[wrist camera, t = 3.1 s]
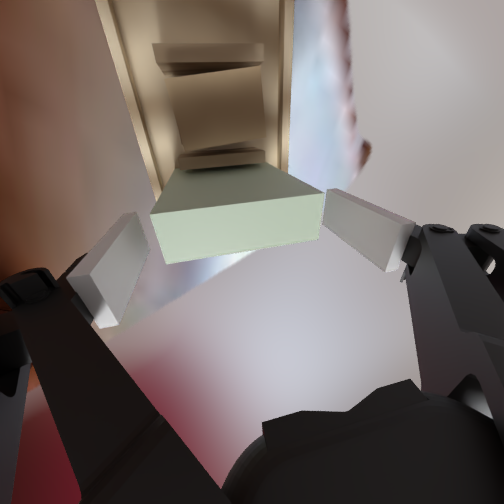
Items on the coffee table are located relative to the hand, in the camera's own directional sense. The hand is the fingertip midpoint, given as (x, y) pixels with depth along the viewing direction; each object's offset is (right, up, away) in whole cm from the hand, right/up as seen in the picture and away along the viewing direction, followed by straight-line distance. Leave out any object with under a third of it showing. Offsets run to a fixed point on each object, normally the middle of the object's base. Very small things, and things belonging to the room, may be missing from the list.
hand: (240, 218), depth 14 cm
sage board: (-3, +6, +10) cm, 12 cm away
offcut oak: (-2, +10, +3) cm, 11 cm away
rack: (-3, +12, +7) cm, 14 cm away
